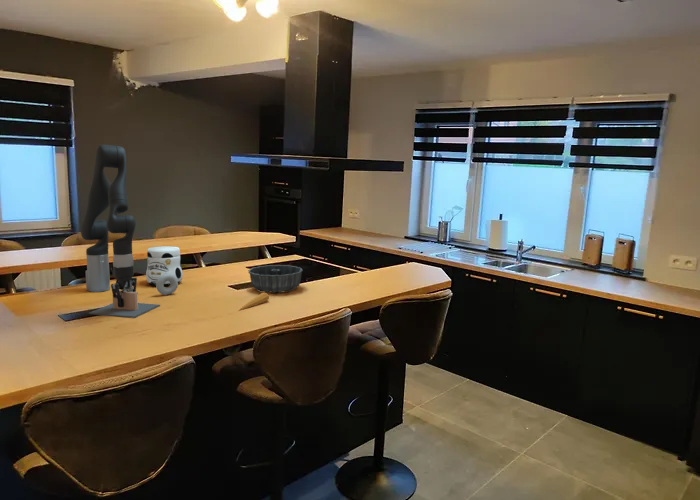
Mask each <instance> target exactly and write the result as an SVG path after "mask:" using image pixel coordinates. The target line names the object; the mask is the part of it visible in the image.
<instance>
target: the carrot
mask: <svg viewBox="0 0 700 500" xmlns="http://www.w3.org/2000/svg"><path fill="white" fill-rule="evenodd" d="M269 300H270V295H269V294H268V293H267V292H260V294H258V295H257V296H255V297H254V298H253V299H251V300H250V301H248V302H247V303H246V304H244V305H243V306H242V307H240V308H239V309H238V310H239V311H243V310H245V309H249V308H252V307H255V306H257V305H261V304H264V302H265V303H267V302H268V301H269ZM254 305H255V306H254ZM251 306H252V307H251ZM242 309H243V310H242Z"/></svg>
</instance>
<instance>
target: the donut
mask: <svg viewBox="0 0 700 500" xmlns="http://www.w3.org/2000/svg"><path fill="white" fill-rule="evenodd" d="M166 281H169V282H170V285H168V287H165V285H164V283H165V282H166ZM155 286H156V287H155V288H156V290H157V292H158V293H159V294H161V295H163V296H170V295H171V294H172V295H173V293H175V292H176V291H177V289H178V286H179V283H178V281H177V279H176V277H175V276H174V275H172V274H163V275H162V276H160V277H159V278H158V280H157V282H156V285H155Z"/></svg>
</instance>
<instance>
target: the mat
mask: <svg viewBox="0 0 700 500" xmlns="http://www.w3.org/2000/svg"><path fill="white" fill-rule="evenodd" d="M160 306H161V304H157V303H155V304H154V303H145V302H143V303H142V302H138V309H137V310H127V309H115V308H113V302H112V303H110V304H108V305H107V304H106V305H104V306H102V307H99V308H97V309H95V310H93V311H90V312H88V315H94V316H95V315H96V316H107V317H117V318H118V317H119V318H131V319H135V318H138V317H140V316H142V315H144V314H146V313H148V312H150V311H152V310H154V309H156V308H159V307H160Z"/></svg>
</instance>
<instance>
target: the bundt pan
mask: <svg viewBox="0 0 700 500" xmlns="http://www.w3.org/2000/svg"><path fill="white" fill-rule="evenodd" d="M247 271H248V274H249V278H250V283H251V286H252V287H253V288H254V289H255V290H257V291H258V292H259V293H267V294H268V293H272V294H275V293H289V292H290V291H293V290H296V289H298V287H299V286H300V284H301V281H302V280H301V279H302V273H303V268H301V267H300V266H299V267H298V266H296V265H295V266H293V265H289V264H287V265H285V264H284V265H283V264H282V265H281V264H275V265H274V264H269V265H263V266H262V265H260V266H256V267H251V268H250V269H248V270H247Z"/></svg>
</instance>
